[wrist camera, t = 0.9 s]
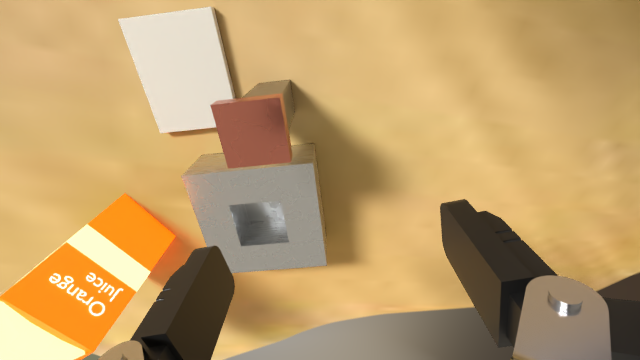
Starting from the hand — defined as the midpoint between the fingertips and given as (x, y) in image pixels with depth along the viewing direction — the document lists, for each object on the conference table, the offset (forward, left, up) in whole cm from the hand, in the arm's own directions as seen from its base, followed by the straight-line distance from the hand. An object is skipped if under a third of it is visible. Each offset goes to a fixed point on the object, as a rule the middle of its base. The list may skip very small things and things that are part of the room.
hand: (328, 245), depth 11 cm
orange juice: (+12, -25, -21) cm, 35 cm away
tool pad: (-5, -12, -20) cm, 24 cm away
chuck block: (+9, -7, -20) cm, 24 cm away
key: (-2, -4, -20) cm, 21 cm away
